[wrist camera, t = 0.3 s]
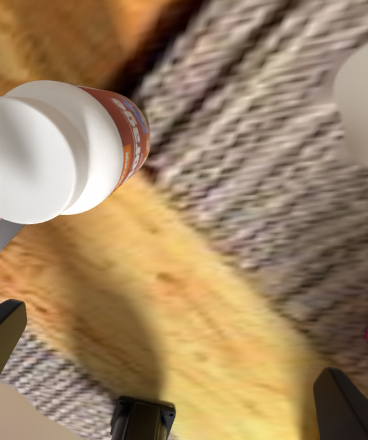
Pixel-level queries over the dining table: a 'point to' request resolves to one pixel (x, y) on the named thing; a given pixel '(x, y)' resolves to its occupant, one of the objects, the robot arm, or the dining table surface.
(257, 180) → the dining table surface
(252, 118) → the dining table surface
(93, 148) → the pill bottle
